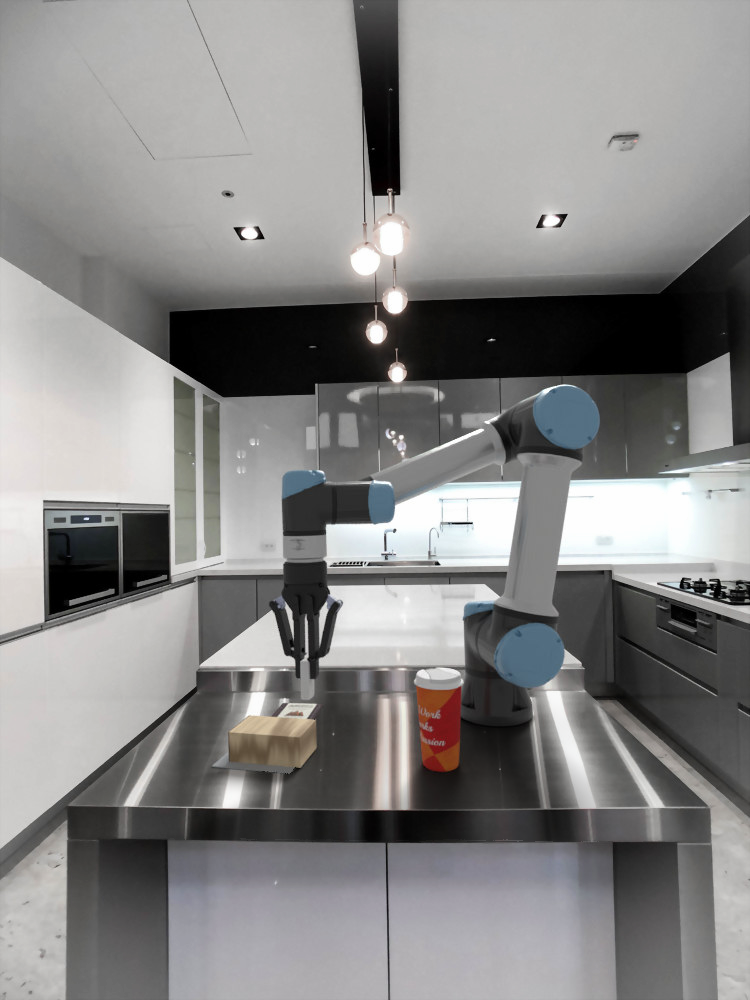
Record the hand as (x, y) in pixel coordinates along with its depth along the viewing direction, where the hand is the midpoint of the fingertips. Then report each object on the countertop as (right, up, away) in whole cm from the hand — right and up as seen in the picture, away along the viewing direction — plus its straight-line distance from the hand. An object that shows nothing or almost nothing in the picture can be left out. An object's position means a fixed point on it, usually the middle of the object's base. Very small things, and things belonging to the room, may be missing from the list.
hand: (307, 697), depth 99 cm
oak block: (0, -8, 0) cm, 8 cm away
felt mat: (-8, -11, +2) cm, 13 cm away
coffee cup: (+22, -10, -3) cm, 25 cm away
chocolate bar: (-5, -12, +18) cm, 22 cm away
